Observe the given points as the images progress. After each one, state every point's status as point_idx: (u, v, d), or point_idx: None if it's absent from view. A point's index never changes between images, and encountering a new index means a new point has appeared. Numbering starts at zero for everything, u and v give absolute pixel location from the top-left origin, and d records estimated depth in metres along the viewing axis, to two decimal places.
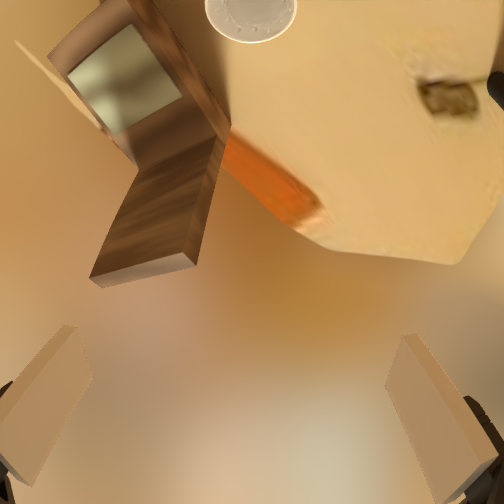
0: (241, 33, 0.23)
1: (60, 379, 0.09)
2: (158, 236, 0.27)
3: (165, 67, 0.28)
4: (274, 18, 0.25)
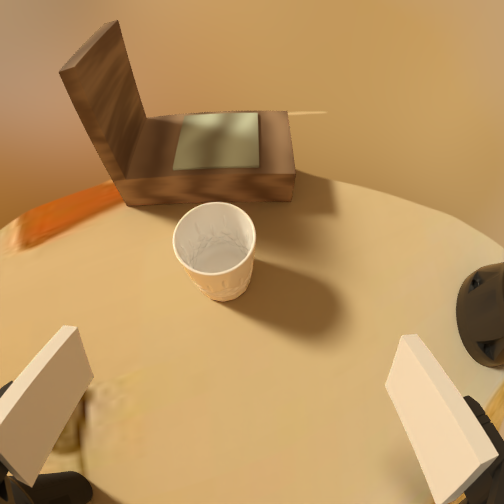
0: (192, 226, 0.31)
1: (60, 379, 0.09)
2: (95, 70, 0.25)
3: (204, 169, 0.37)
4: None
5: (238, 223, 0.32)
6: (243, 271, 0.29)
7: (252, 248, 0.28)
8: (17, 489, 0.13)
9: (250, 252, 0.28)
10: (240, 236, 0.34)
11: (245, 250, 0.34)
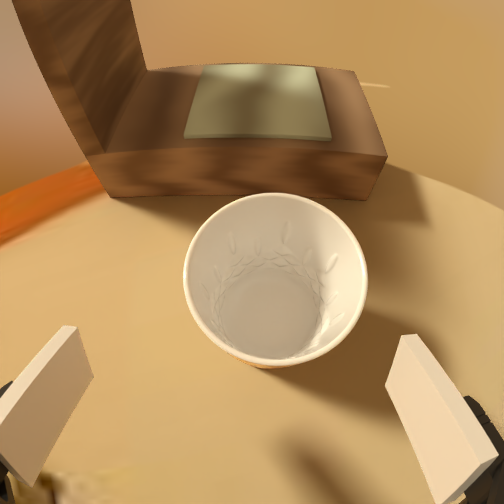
0: (223, 242, 0.16)
1: (60, 379, 0.09)
2: None
3: (237, 139, 0.21)
4: (222, 324, 0.19)
5: (315, 238, 0.16)
6: None
7: (363, 300, 0.12)
8: None
9: (360, 309, 0.12)
10: (309, 261, 0.18)
11: (315, 285, 0.19)
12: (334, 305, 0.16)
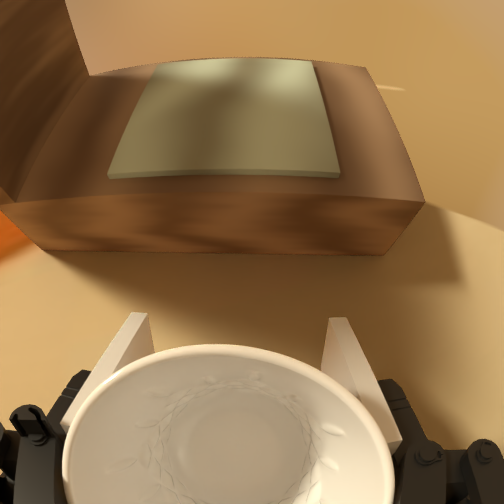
0: (140, 400, 0.08)
1: None
2: None
3: (187, 177, 0.13)
4: (169, 463, 0.11)
5: (306, 396, 0.08)
6: None
7: None
8: None
9: None
10: (295, 402, 0.10)
11: (304, 423, 0.11)
12: (331, 479, 0.08)
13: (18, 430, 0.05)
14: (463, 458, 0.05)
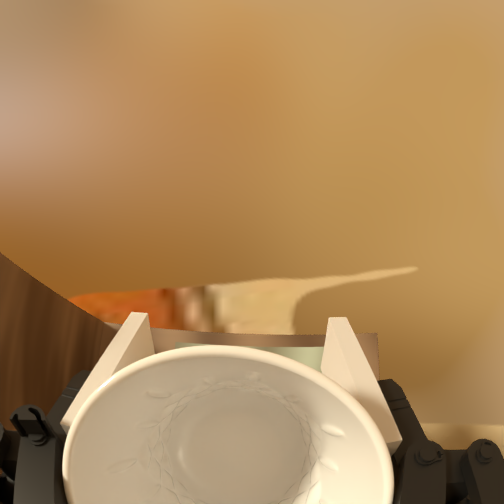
0: (140, 401, 0.08)
1: None
2: None
3: None
4: (169, 464, 0.11)
5: (305, 397, 0.08)
6: None
7: None
8: None
9: None
10: (295, 402, 0.10)
11: (304, 424, 0.11)
12: (330, 479, 0.08)
13: (18, 430, 0.05)
14: (463, 458, 0.05)
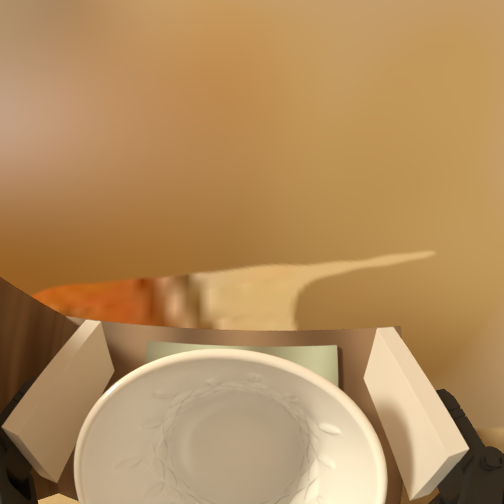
0: (147, 401, 0.08)
1: (85, 373, 0.09)
2: None
3: None
4: (172, 463, 0.11)
5: (304, 397, 0.08)
6: None
7: None
8: None
9: None
10: (294, 402, 0.10)
11: (303, 423, 0.11)
12: (328, 476, 0.08)
13: None
14: None
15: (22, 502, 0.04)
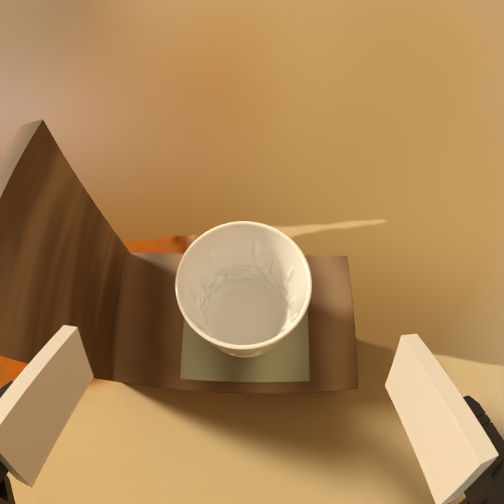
0: (206, 258, 0.20)
1: (60, 379, 0.09)
2: (8, 287, 0.12)
3: (227, 383, 0.24)
4: (207, 321, 0.23)
5: (277, 254, 0.20)
6: None
7: (307, 303, 0.17)
8: None
9: (304, 310, 0.16)
10: (275, 271, 0.23)
11: (281, 290, 0.23)
12: (293, 307, 0.20)
13: None
14: None
15: None
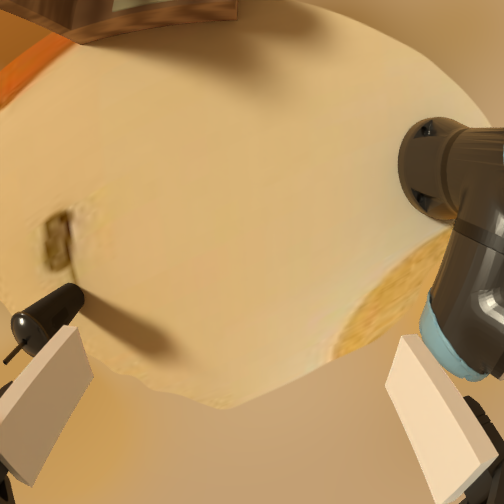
0: None
1: (60, 379, 0.09)
2: None
3: (142, 6, 0.26)
4: None
5: None
6: None
7: None
8: (29, 319, 0.31)
9: None
10: None
11: None
12: None
13: None
14: None
15: None
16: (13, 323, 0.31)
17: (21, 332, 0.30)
